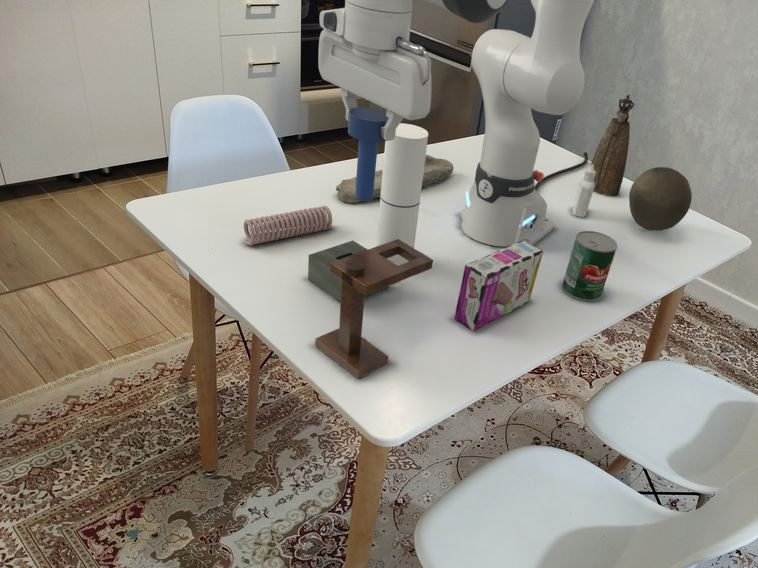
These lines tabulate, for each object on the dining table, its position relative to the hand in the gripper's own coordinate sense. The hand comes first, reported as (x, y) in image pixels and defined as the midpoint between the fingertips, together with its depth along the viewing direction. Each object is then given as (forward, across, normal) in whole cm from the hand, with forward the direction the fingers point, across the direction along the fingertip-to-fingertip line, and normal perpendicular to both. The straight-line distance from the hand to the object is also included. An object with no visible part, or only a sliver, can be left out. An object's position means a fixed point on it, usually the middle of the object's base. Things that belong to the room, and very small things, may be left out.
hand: (369, 129), depth 97 cm
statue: (+29, +4, -86) cm, 91 cm away
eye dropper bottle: (+29, -1, -68) cm, 74 cm away
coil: (+30, +24, -3) cm, 38 cm away
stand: (+29, -12, +7) cm, 32 cm away
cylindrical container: (+29, +6, -14) cm, 33 cm away
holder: (+29, +4, -2) cm, 30 cm away
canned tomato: (+29, -23, -38) cm, 53 cm away
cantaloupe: (+29, -16, -77) cm, 84 cm away
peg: (+11, 0, 0) cm, 11 cm away
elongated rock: (+29, +31, -39) cm, 58 cm away
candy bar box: (+24, -17, -9) cm, 31 cm away
